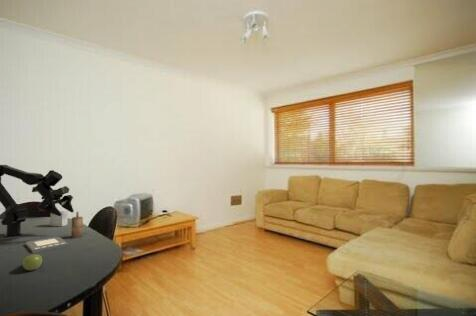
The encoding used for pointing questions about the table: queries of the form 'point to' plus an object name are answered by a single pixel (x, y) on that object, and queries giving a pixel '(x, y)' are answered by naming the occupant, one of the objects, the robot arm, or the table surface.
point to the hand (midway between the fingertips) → (67, 213)
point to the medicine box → (58, 219)
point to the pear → (32, 262)
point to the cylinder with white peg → (77, 226)
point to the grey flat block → (46, 244)
